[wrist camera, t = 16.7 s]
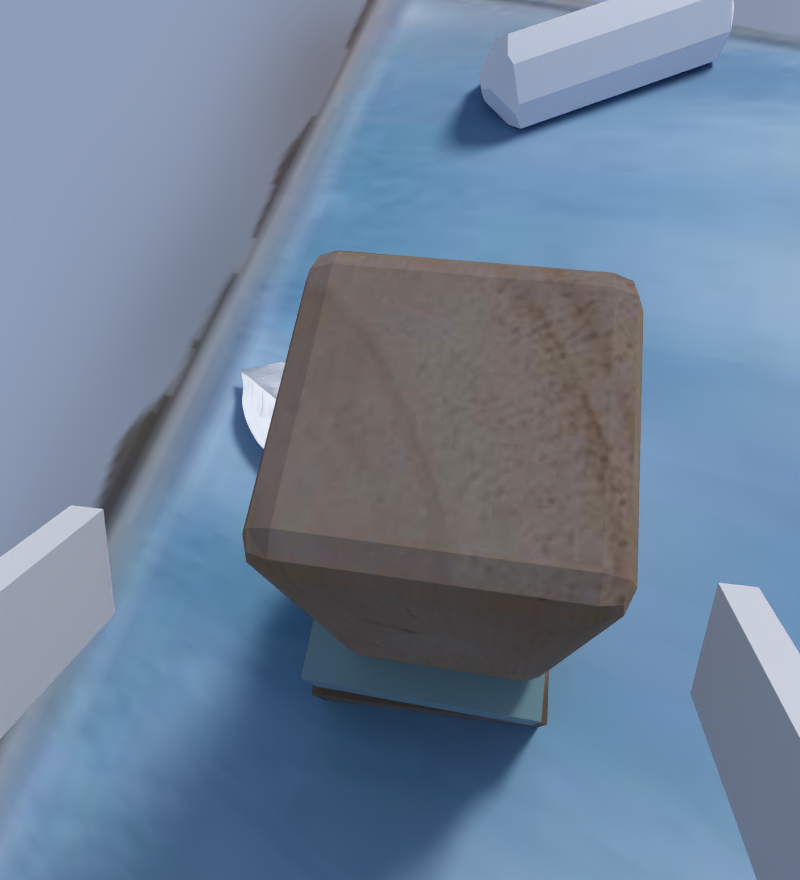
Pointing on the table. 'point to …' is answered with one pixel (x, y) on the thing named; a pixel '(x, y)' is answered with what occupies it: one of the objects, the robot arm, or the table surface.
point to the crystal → (599, 55)
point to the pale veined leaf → (260, 397)
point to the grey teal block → (420, 682)
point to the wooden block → (455, 460)
